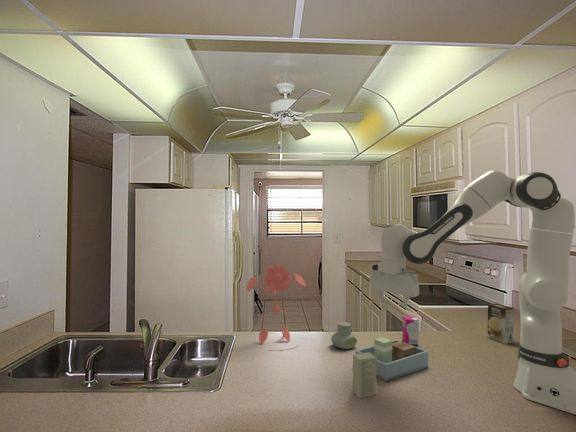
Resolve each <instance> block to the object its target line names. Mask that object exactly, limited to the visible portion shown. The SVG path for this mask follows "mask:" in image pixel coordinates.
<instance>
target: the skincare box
mask: <svg viewBox="0 0 576 432" xmlns="http://www.w3.org/2000/svg"><path fill="white" fill-rule="evenodd" d="M352 359H353V361H352V392H353V394H354V395H355V396H357V398H359V399H361V398H367V397H373V396H376V395H377V377H376V360H377V357H375V356H374V355H373V354H371V353H370V352H366V353H359V354H355V353H353V354H352Z"/></svg>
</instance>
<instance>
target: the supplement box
mask: <svg viewBox="0 0 576 432" xmlns="http://www.w3.org/2000/svg"><path fill="white" fill-rule="evenodd" d="M419 323H420V321H419V319H418V318H417V317H416V316H406V315H403V316H402V334H401V335H402V336H401V337H402V338H401V339H402V340H401V341H402V342H405V343H408V344H410V345H418V346H419Z"/></svg>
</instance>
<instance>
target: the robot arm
mask: <svg viewBox="0 0 576 432" xmlns="http://www.w3.org/2000/svg"><path fill="white" fill-rule="evenodd" d="M557 185H558V184H557V182H556V181H555V179H554V178H553V177H552V176H551V175H549V174H547V173H544V172H539V171H534V172H532V171H531V172H529V173H524V174H521V175H519V176H517V177H510V176H508V175H507V174H506V173H504V172H502V171H499V170H489V171H487V172H485V173H484V174H481V176H479V177H477V178H476V179H474V180H473V181H472V182H470V183H469V184H468V185H467V186H465V187H464V188H463V189H462V190H460V192H458V194H457V195H456V196H455V197H454V198H453V200H451V203H450V206H449V207H448V209H447V210H446V212H445V213H444V214H443V215H442V216H441V217H440V218H439V219H438V220H436V221H435V222H434V223H433V224H432V225H430V226H429V227H428V228H426V229H425V230H423V231H421V232H417V231H415V230H413V229H411V228H409V227H407V226H405V225H404V224H403V223H395V224H391V225H387V226H385V227H383V228H382V232H381V237H380V238H381V239H380V250H381V257H380V262H377V263H372V264H370V265H369V266H370V267H369V268H370V269H369V270H371V271H370V273H369V286H370V289H374V290H376V291H377V294H378V297H379V298H380V299H379V301H380V303H384V304H385V303H387V297H385V295H384V292H387V293H392V294H396V295H401V296H402V299H403V301H401V302H400V307H401V308H403V309H406V308H408V302H409V300H410V299H411V298H416V297H418V296H419V295H420V285H419V284H420V283H419V275H418V273H417V272H415V270H414V269H406V267H407V265H406V264H407V263H406V262H407V261H409V262H410V263H413V264H416V265H422V264H426V263H428V262H429V261H430V260H432V258H433V257H434V255H435V252H436V250H437V249H438V247H439V246H440V245H441V244H442V243H443V242H444V241H445V240H447V239H448V237H449V238H450V237H451V235H453V234H454V233H455V232H456V231H458V230H459V229H460V228H462V227H464V226H465V225H468V224H470V223H472V222H473V221H476V220H478V219H480V218H481V217H482V216H484V215H486V214H487V213H488V212H490V211H491V210H492V209H493V208H495V207H496V206H497V205H498V204H501V203H502V202H506V203H508V204H510V205H512V206H514V207H517V208H529V209H530V211H531V214H532V223H531V226H530V231H529V232H530V233H529V238H528V245H527V250H526V268H525V269H526V270H525V273H524V274H522V276H521V277H520V279H519V281H518V293H519V294H518V296H519V299H518V300H519V302H518V303H519V315H520V316H519V317H520V318H519V319H520V323H519V324H520V327H519V328H520V331H519V333H520V335H519V338H520V339H519V343H518V348H517V360H518V366H517V372H516V376H515V379H514V382H513V384H512V385H513V387H514V388H515V389H516V390H517V391H518V392H520V394H521V395H522V397H523V398H525V399H526V400H529V401H532V402H536V403H539V404H541V405H545V406H547V407H550V408H554V409H557V410H559V411H560V410H561V411H563V412H566V413H569V414H572V415H576V371H575V370H574V369H573V368H572V367H571V366H570V361H571V358H572V357H571V355H566V353H564V352H563V350H562V349H563V324H562V318H561V312H560V311H561V310H560V309H561V308H564V306H565V305H566V304H567V303H568V299H569V295H568V294H569V293H568V292H569V278H570V277H569V276H570V272H569V271H570V265H569V264H570V256H571V255H570V254H571V249H572V243H573V239H574V238H573V237H574V232H575V225H576V224H575V220H576V219H575V218H576V216H575V215H576V214H575V206H574V204H573V203H572V202H571V201H570V200H569V199H566V198H564V197H562V196H561V192H560V191H559V189H558V186H557ZM406 260H407V261H406Z"/></svg>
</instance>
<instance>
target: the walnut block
mask: <svg viewBox="0 0 576 432" xmlns="http://www.w3.org/2000/svg"><path fill="white" fill-rule="evenodd" d="M416 347H417V346H413V345H410V344H408V343H405V342H403V341H402V340H399V342H395V343H392V361H396V360H399V359H402V358H405V357H408V356H411V355H414V354H416Z"/></svg>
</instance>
